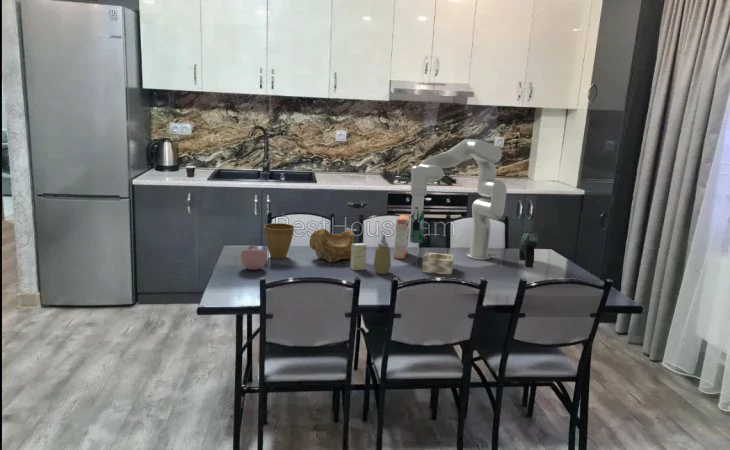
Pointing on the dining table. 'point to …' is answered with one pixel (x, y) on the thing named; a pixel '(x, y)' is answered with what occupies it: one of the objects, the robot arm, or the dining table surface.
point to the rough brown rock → (332, 245)
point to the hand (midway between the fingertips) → (416, 228)
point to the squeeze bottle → (382, 257)
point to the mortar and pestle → (253, 258)
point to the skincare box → (358, 256)
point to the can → (417, 235)
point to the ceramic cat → (528, 248)
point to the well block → (438, 263)
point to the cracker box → (402, 236)
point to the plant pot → (278, 239)
